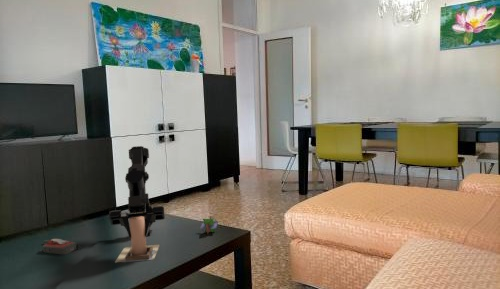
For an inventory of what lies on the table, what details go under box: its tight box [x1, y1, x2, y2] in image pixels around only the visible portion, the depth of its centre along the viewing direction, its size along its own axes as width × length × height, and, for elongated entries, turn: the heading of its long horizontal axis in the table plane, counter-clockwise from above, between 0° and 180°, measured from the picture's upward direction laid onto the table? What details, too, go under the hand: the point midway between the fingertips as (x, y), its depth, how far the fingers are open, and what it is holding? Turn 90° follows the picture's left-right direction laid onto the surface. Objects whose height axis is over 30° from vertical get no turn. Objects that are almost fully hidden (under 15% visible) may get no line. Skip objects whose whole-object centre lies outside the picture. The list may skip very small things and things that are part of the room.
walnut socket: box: [125, 247, 153, 261], centre depth 131 cm, size 8×8×2 cm
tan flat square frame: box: [114, 244, 161, 263], centre depth 133 cm, size 15×13×1 cm
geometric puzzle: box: [199, 215, 219, 235], centre depth 155 cm, size 7×7×8 cm
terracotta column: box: [128, 216, 148, 256], centre depth 130 cm, size 5×5×13 cm
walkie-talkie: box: [42, 238, 81, 255], centre depth 145 cm, size 9×4×20 cm
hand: (137, 236), depth 129 cm, fingers closed on terracotta column, 5 cm apart
